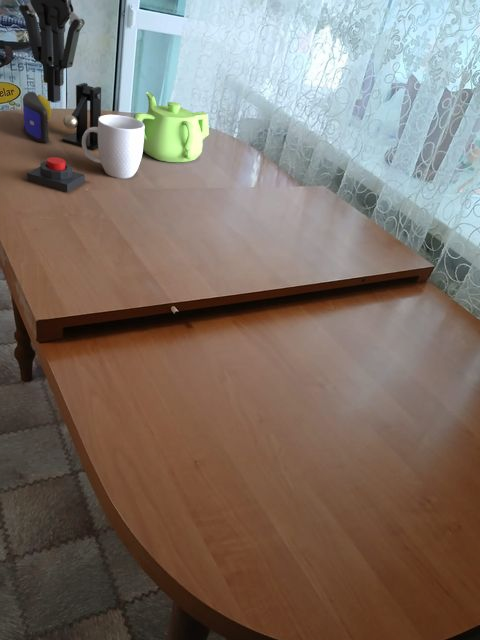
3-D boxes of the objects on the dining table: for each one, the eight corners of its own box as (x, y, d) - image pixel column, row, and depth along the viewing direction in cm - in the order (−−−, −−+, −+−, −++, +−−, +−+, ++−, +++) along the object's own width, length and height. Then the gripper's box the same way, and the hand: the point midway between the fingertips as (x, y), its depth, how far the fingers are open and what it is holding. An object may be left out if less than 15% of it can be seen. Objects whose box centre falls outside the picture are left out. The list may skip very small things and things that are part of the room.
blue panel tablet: (20, 124, 154) (17, 89, 149) (37, 125, 156) (35, 90, 151) (31, 145, 144) (28, 107, 138) (49, 145, 146) (47, 108, 140)
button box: (27, 182, 125) (26, 165, 123) (46, 172, 132) (46, 156, 129) (67, 193, 125) (67, 177, 122) (84, 183, 131) (84, 167, 129)
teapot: (193, 172, 151) (199, 118, 143) (123, 155, 151) (125, 100, 142) (207, 153, 166) (213, 103, 158) (143, 137, 166) (146, 87, 158)
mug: (77, 175, 134) (76, 120, 126) (86, 160, 143) (86, 108, 135) (138, 185, 136) (141, 132, 129) (144, 170, 145) (147, 119, 137)
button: (43, 168, 125) (43, 160, 124) (53, 163, 128) (52, 155, 127) (59, 172, 124) (59, 165, 123) (68, 167, 128) (68, 160, 126)
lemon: (48, 128, 157) (47, 98, 152) (28, 124, 156) (26, 94, 151) (53, 122, 161) (52, 94, 156) (34, 119, 160) (32, 90, 156)
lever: (75, 133, 142) (71, 123, 139) (63, 129, 143) (59, 119, 140) (98, 96, 148) (95, 86, 145) (86, 93, 148) (83, 82, 145)
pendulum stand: (92, 151, 149) (93, 94, 140) (62, 143, 149) (61, 85, 141) (113, 141, 158) (114, 87, 150) (84, 133, 159) (84, 78, 150)
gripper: (92, -22, 107) (90, 105, 120) (30, -38, 107) (35, 90, 121) (73, -22, 101) (73, 111, 114) (7, -39, 101) (16, 95, 115)
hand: (54, 100), depth 118 cm, fingers closed
